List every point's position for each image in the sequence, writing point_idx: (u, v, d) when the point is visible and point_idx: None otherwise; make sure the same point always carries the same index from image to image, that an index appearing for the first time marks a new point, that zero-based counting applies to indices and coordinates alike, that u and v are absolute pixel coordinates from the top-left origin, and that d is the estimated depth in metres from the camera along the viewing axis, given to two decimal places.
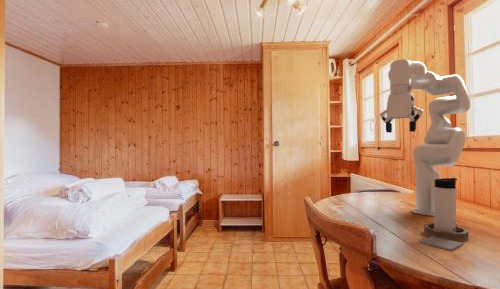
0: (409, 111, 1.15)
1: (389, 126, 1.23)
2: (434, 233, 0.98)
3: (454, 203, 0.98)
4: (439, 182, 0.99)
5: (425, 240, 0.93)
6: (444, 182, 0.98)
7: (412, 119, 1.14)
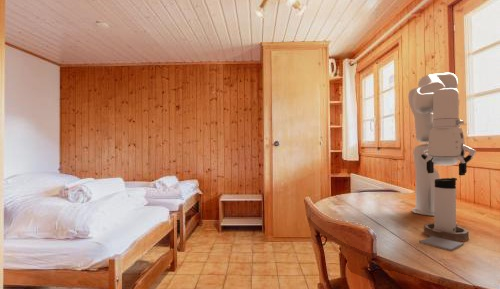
0: (458, 151, 0.95)
1: (431, 166, 1.04)
2: (434, 233, 0.98)
3: (454, 203, 0.98)
4: (439, 182, 0.99)
5: (425, 240, 0.93)
6: (444, 182, 0.98)
7: (462, 161, 0.95)
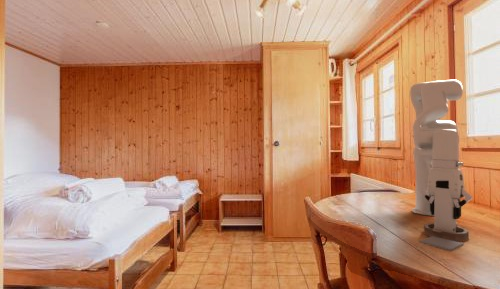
0: (458, 193, 0.96)
1: None
2: (434, 233, 0.98)
3: None
4: (439, 182, 0.99)
5: (425, 240, 0.93)
6: (444, 182, 0.98)
7: (457, 205, 0.96)
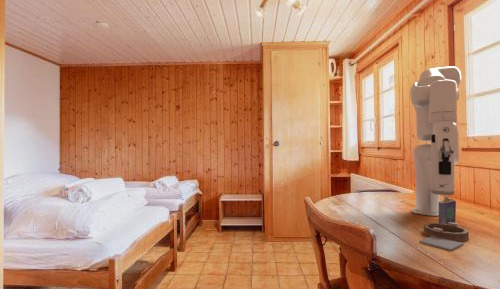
0: (438, 146, 0.91)
1: None
2: (434, 233, 0.98)
3: None
4: (431, 137, 0.96)
5: (425, 240, 0.93)
6: (432, 136, 0.95)
7: (440, 159, 0.91)
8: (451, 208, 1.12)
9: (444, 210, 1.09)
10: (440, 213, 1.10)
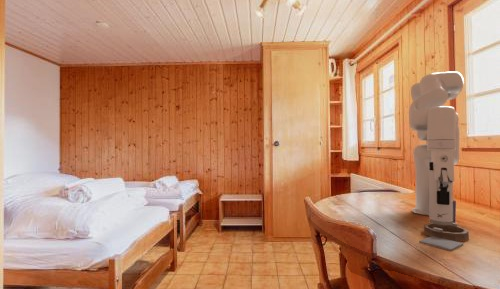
0: (436, 175, 0.88)
1: None
2: (434, 233, 0.98)
3: None
4: (429, 164, 0.93)
5: (425, 240, 0.93)
6: (430, 163, 0.92)
7: None
8: None
9: None
10: None
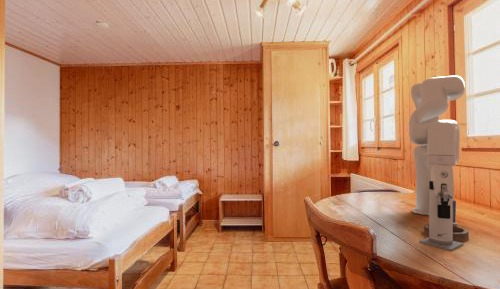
0: (436, 191, 0.88)
1: None
2: None
3: None
4: (429, 182, 0.94)
5: (425, 240, 0.93)
6: (430, 182, 0.92)
7: (439, 202, 0.87)
8: None
9: None
10: None
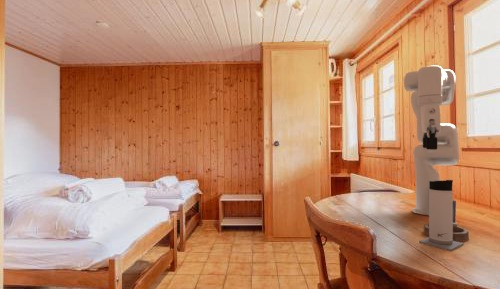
0: (425, 126, 1.01)
1: None
2: None
3: (439, 207, 0.90)
4: (429, 182, 0.94)
5: (425, 240, 0.93)
6: (430, 182, 0.92)
7: (427, 135, 1.00)
8: None
9: None
10: None
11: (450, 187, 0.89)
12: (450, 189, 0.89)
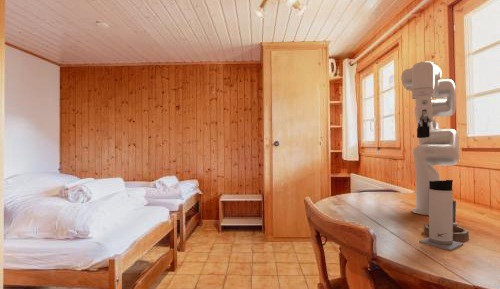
0: (418, 116, 1.11)
1: None
2: None
3: (439, 207, 0.90)
4: (429, 182, 0.94)
5: (425, 240, 0.93)
6: (430, 182, 0.92)
7: (420, 124, 1.10)
8: None
9: None
10: None
11: (450, 187, 0.89)
12: (450, 189, 0.89)
